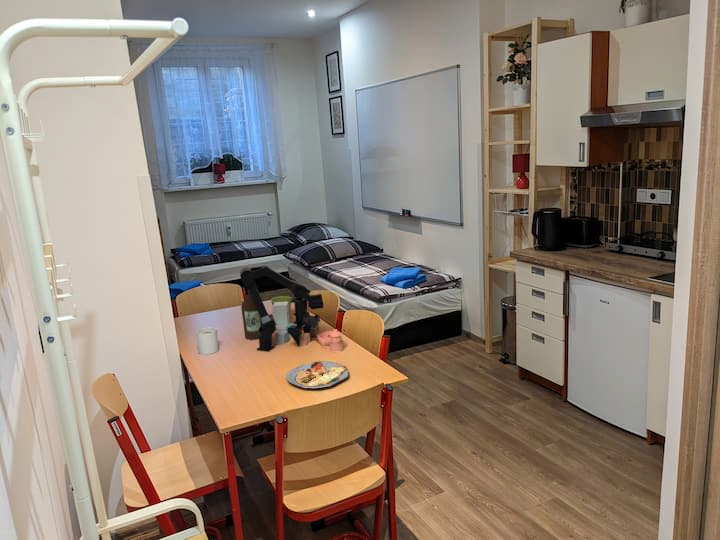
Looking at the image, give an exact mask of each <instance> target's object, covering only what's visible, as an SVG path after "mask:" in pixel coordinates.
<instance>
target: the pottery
mask: <svg viewBox="0 0 720 540" xmlns="http://www.w3.org/2000/svg"><path fill="white" fill-rule="evenodd" d="M315 340H316V342H317V343H318V345H319V344H320V345H321V346H322V347H323V346H329V347H328V348H329V351H330V350H331V351H341V350H342V351H344V344H343V341H342V333H341V332H340V331H339V330H338V329H337V328H335V329H333V330H330V331H323V332H320V333H316V339H315ZM322 347H321V348H322ZM323 348H324V347H323ZM331 351H330V352H331ZM342 351H341V352H342Z"/></svg>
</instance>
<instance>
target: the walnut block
mask: <svg viewBox="0 0 720 540" xmlns="http://www.w3.org/2000/svg"><path fill="white" fill-rule="evenodd" d="M316 333H321V329H320V325H318V326H316V327H315V328H312V327H311V330H310V339H312V338H316Z"/></svg>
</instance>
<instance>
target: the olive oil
mask: <svg viewBox="0 0 720 540" xmlns="http://www.w3.org/2000/svg"><path fill="white" fill-rule="evenodd" d="M241 316H242V323H243V329H244V337H245V339H246V340H251V341H255V340H259V332H258V329H259V328H260V327H261V326H262V323H261V318H260V315H259V313H258V310H257V308H256V306H255V303H254V301H253V299H252V297H251V294H250V292H249V290H248V289H247V296H246V298H245V299H244V300H243V301H242V303H241Z"/></svg>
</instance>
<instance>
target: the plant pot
mask: <svg viewBox="0 0 720 540" xmlns="http://www.w3.org/2000/svg"><path fill="white" fill-rule="evenodd" d="M292 297H293V296H292ZM292 297H291V296H288V295H287V296H286V295H285V296H284V295H280V296H275V297H272V298H271V299H270V303H271V305H272V306H273V304H274V303H275V302H288V306H289V319H290V317H291V305H292V303H291V301H290V299H291V298H292Z"/></svg>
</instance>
